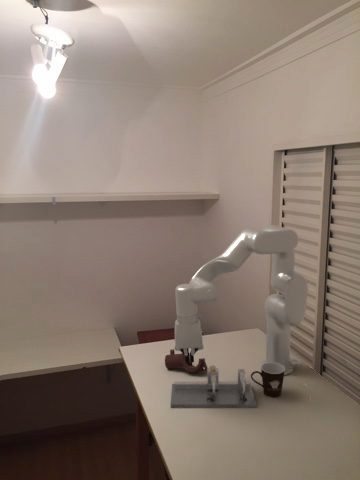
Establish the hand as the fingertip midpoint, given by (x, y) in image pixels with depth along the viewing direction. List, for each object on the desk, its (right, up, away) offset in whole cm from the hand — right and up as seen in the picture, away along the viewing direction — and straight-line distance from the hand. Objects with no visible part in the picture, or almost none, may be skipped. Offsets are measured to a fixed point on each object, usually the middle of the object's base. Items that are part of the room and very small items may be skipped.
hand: (190, 363), depth 158 cm
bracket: (-1, -8, +18) cm, 19 cm away
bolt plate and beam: (+8, -11, -3) cm, 14 cm away
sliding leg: (+9, -9, -2) cm, 13 cm away
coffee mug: (+29, -11, 0) cm, 31 cm away
